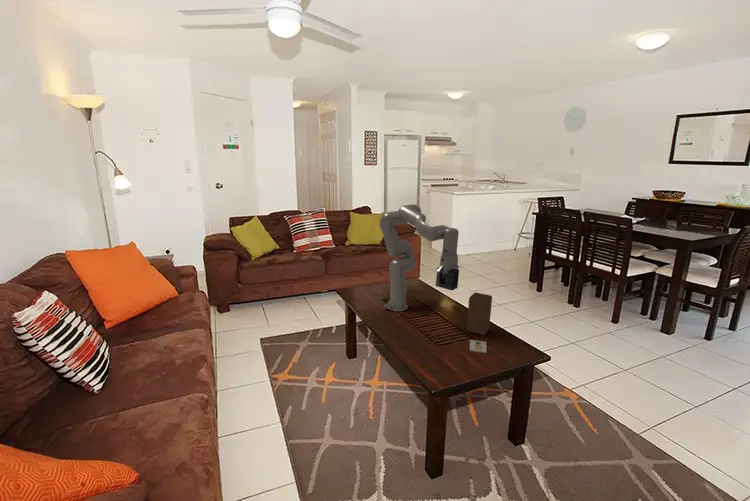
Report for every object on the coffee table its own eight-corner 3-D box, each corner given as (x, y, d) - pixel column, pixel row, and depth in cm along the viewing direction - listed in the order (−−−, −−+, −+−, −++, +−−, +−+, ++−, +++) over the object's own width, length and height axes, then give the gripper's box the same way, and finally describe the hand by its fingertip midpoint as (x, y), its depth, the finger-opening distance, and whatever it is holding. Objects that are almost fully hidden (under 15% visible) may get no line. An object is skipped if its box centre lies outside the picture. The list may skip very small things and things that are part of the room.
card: (469, 351, 188) (469, 349, 188) (469, 340, 198) (470, 339, 198) (486, 353, 186) (486, 351, 186) (486, 342, 196) (486, 341, 196)
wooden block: (484, 336, 204) (487, 300, 199) (465, 331, 209) (468, 296, 204) (489, 329, 212) (492, 295, 207) (471, 325, 217) (474, 291, 212)
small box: (458, 287, 209) (460, 269, 206) (452, 291, 204) (454, 272, 201) (441, 283, 215) (442, 265, 212) (435, 286, 210) (436, 267, 207)
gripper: (443, 255, 196) (440, 288, 201) (465, 250, 206) (462, 282, 211) (432, 251, 202) (430, 283, 207) (455, 247, 212) (452, 278, 217)
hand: (446, 282), depth 209 cm, fingers closed on small box, 7 cm apart
